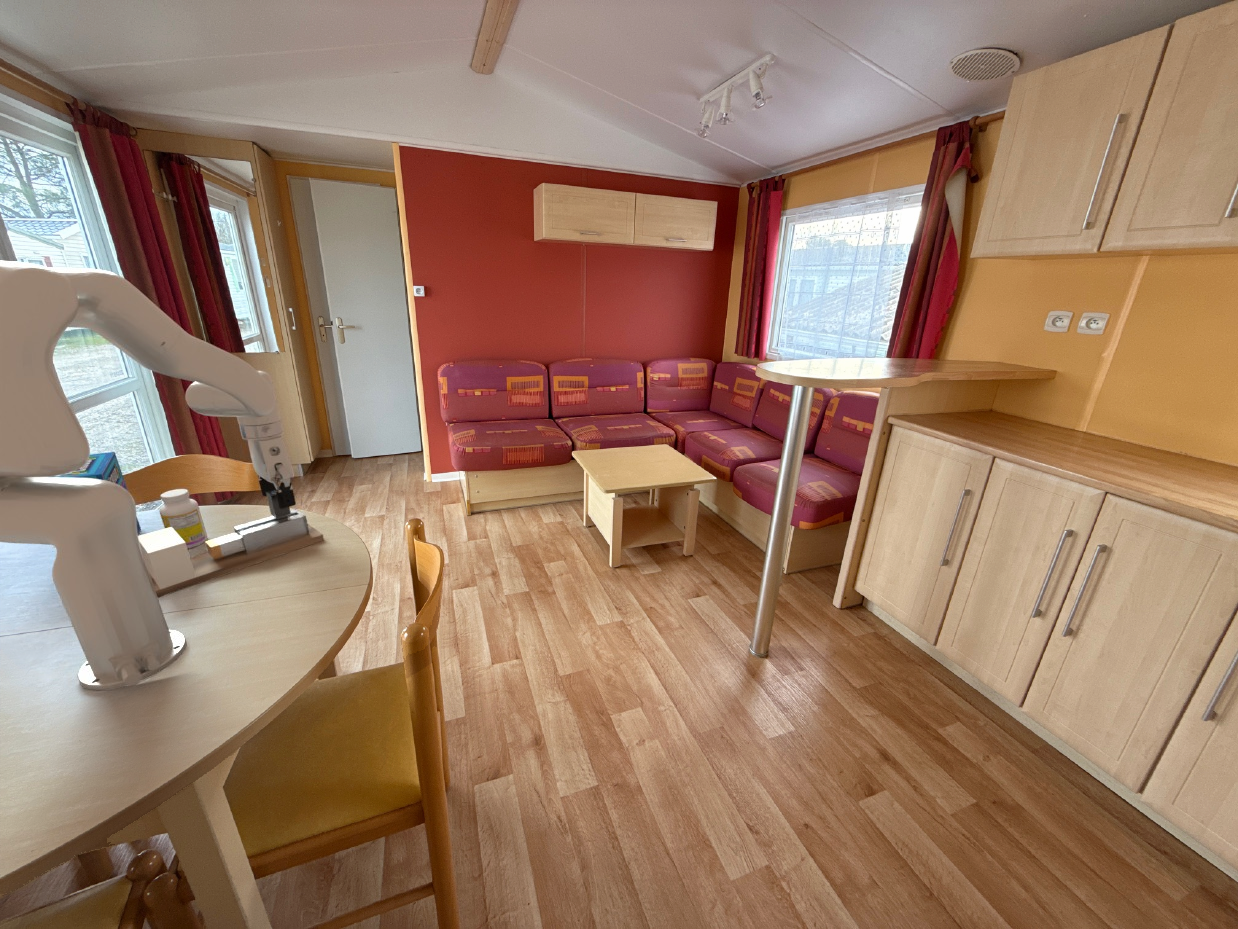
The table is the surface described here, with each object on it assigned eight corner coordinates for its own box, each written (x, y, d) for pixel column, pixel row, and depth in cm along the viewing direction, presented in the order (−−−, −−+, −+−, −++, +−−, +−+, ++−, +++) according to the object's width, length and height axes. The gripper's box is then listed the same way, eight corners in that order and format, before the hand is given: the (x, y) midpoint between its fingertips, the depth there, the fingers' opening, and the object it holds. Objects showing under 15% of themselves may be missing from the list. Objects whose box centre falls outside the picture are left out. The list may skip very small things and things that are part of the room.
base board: (323, 540, 117) (322, 534, 117) (155, 598, 94) (153, 591, 94) (306, 527, 123) (305, 521, 122) (143, 579, 100) (141, 572, 100)
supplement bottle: (176, 539, 115) (161, 489, 111) (211, 534, 118) (197, 485, 114) (166, 553, 110) (149, 500, 105) (203, 547, 112) (188, 496, 108)
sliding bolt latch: (302, 531, 116) (293, 490, 112) (214, 559, 103) (201, 514, 100) (296, 526, 118) (287, 486, 114) (208, 553, 105) (196, 509, 102)
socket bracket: (196, 577, 99) (185, 542, 96) (160, 589, 95) (148, 553, 92) (182, 560, 104) (171, 526, 102) (147, 570, 100) (135, 536, 98)
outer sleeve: (309, 534, 116) (305, 515, 115) (247, 555, 107) (242, 534, 105) (299, 527, 120) (295, 508, 118) (238, 546, 110) (233, 526, 109)
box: (88, 539, 114) (57, 458, 107) (141, 529, 119) (114, 451, 112) (72, 572, 102) (36, 483, 95) (132, 559, 107) (101, 474, 100)
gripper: (297, 433, 104) (313, 506, 110) (266, 418, 114) (282, 485, 120) (256, 441, 98) (275, 517, 105) (227, 424, 108) (246, 494, 114)
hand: (279, 500), depth 112 cm, fingers open, 9 cm apart
